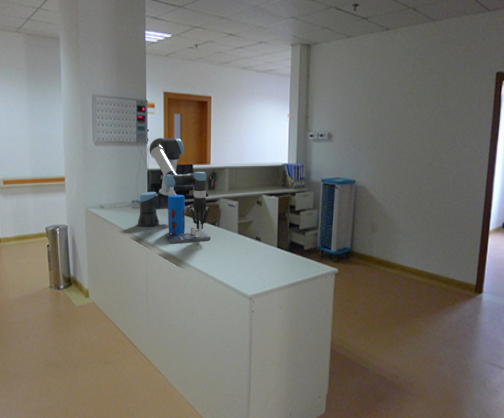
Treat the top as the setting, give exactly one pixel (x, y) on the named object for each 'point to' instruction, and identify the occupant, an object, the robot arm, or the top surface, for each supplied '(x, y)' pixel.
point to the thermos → (176, 214)
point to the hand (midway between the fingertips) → (199, 234)
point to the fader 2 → (196, 233)
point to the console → (185, 237)
